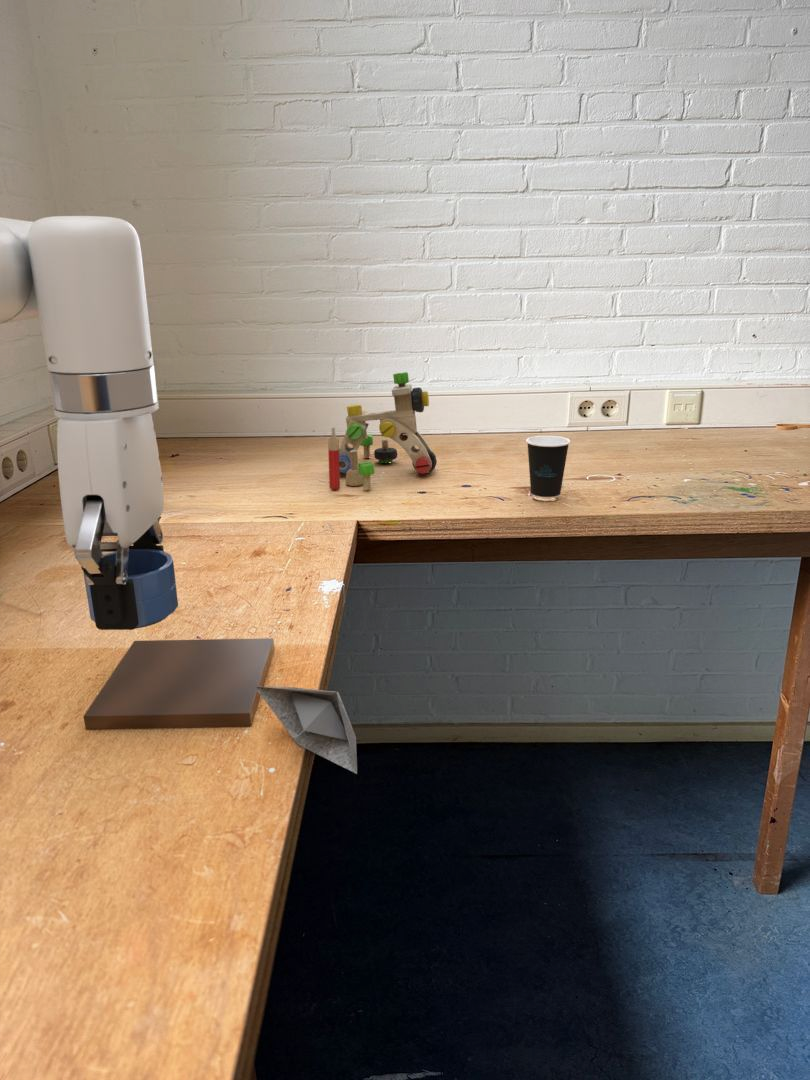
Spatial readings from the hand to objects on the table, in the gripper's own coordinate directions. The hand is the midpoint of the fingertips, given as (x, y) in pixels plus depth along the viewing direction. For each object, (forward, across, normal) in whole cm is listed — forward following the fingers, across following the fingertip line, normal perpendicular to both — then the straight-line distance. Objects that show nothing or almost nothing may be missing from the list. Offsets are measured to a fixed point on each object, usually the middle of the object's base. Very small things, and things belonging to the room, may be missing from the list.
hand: (134, 606), depth 66 cm
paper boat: (+16, -2, +13) cm, 21 cm away
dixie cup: (+16, -82, +47) cm, 96 cm away
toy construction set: (+16, -100, +15) cm, 102 cm away
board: (+16, -14, -1) cm, 21 cm away
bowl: (+1, 0, 0) cm, 1 cm away
